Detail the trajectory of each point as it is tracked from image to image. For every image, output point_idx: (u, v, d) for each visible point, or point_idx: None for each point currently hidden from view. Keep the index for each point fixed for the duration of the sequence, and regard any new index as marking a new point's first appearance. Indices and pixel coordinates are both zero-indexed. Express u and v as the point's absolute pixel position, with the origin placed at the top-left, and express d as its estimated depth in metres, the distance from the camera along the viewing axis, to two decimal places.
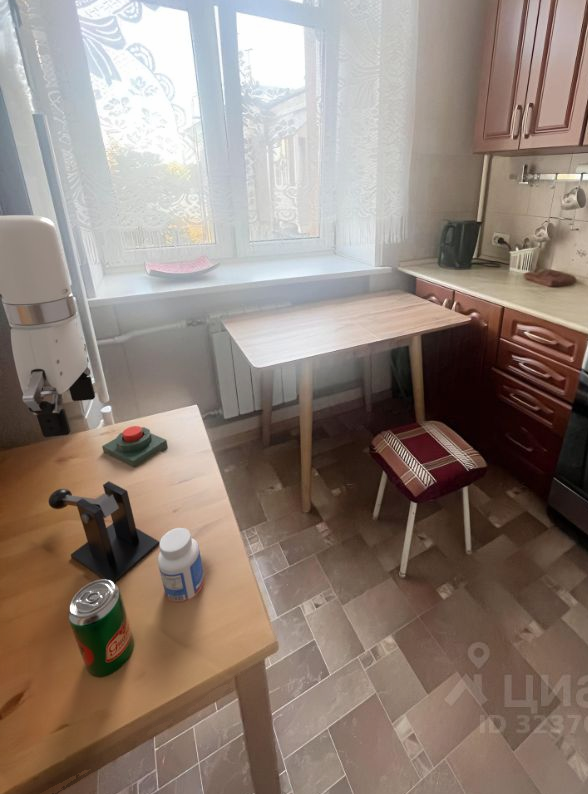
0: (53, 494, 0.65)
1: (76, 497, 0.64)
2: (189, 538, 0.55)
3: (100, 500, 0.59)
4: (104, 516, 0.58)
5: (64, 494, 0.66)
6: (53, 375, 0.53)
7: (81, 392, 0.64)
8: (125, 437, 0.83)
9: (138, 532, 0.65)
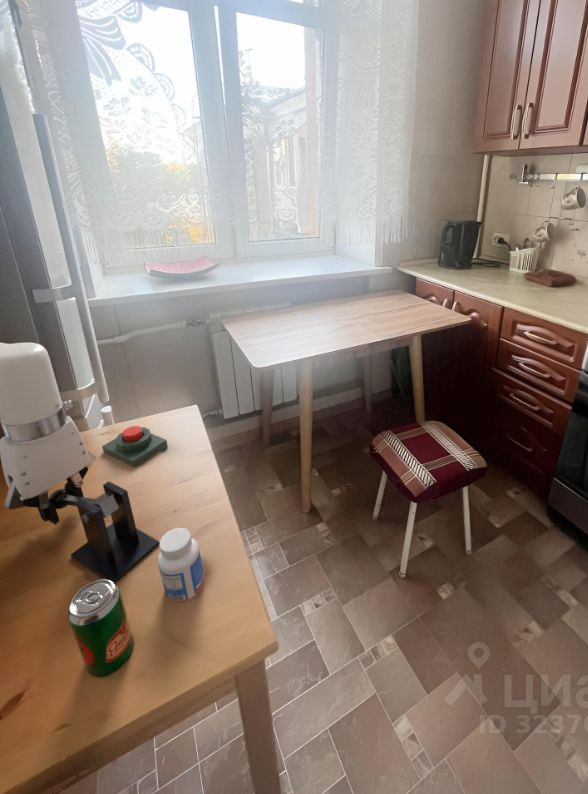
0: (53, 494, 0.65)
1: (76, 497, 0.64)
2: (189, 538, 0.55)
3: (100, 500, 0.59)
4: (104, 516, 0.58)
5: (64, 494, 0.66)
6: (18, 484, 0.59)
7: None
8: (125, 437, 0.83)
9: (138, 532, 0.65)
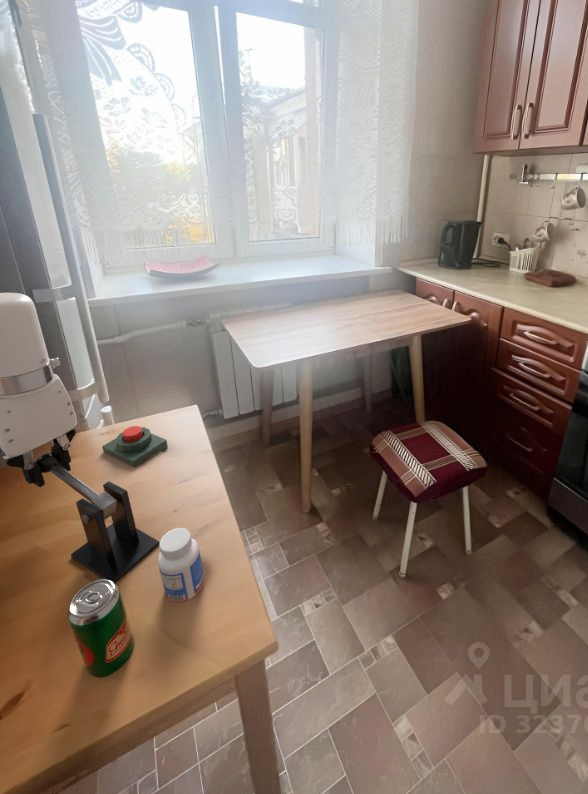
0: (42, 459, 0.62)
1: (68, 473, 0.62)
2: (189, 538, 0.55)
3: (103, 502, 0.58)
4: None
5: (53, 462, 0.63)
6: (1, 441, 0.56)
7: (59, 462, 0.65)
8: (125, 437, 0.83)
9: (138, 532, 0.65)
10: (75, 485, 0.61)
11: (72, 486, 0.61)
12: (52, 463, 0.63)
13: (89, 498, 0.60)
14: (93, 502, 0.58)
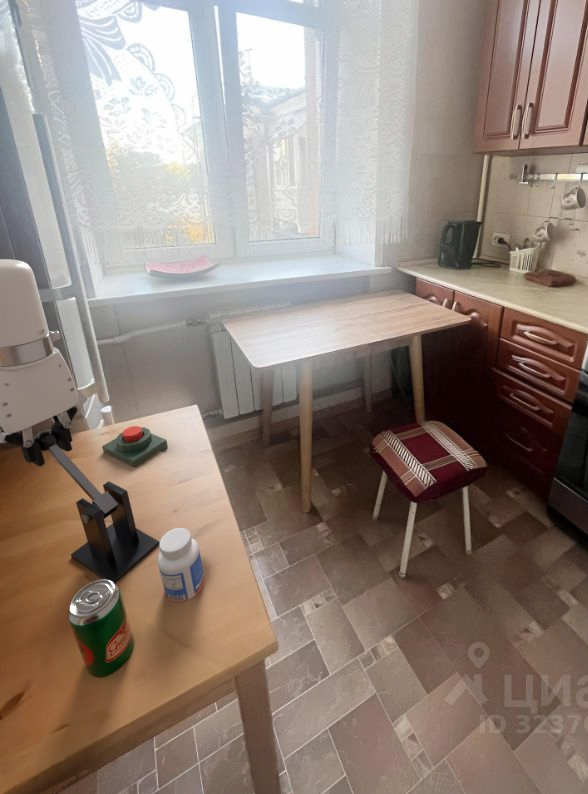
0: (43, 439, 0.60)
1: (69, 460, 0.60)
2: (189, 538, 0.55)
3: (105, 505, 0.58)
4: None
5: (54, 443, 0.61)
6: None
7: (59, 441, 0.63)
8: (125, 437, 0.83)
9: (138, 532, 0.65)
10: (76, 476, 0.59)
11: (72, 476, 0.60)
12: (52, 444, 0.61)
13: (90, 494, 0.59)
14: (95, 503, 0.58)
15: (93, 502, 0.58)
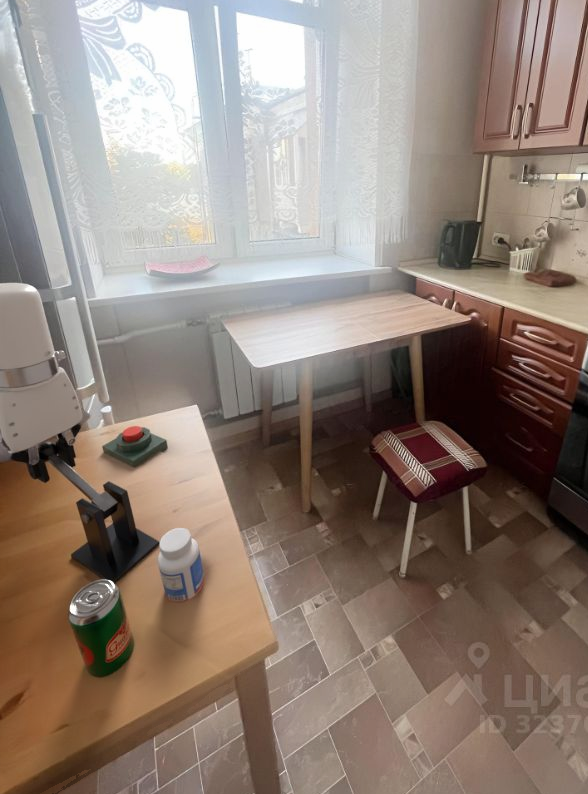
0: (41, 449, 0.61)
1: (68, 467, 0.61)
2: (189, 538, 0.55)
3: (104, 503, 0.58)
4: None
5: (53, 452, 0.62)
6: (6, 435, 0.55)
7: (63, 458, 0.64)
8: (125, 437, 0.83)
9: (138, 532, 0.65)
10: (75, 481, 0.60)
11: (72, 481, 0.60)
12: (51, 454, 0.62)
13: (89, 496, 0.59)
14: (94, 502, 0.58)
15: (92, 502, 0.58)
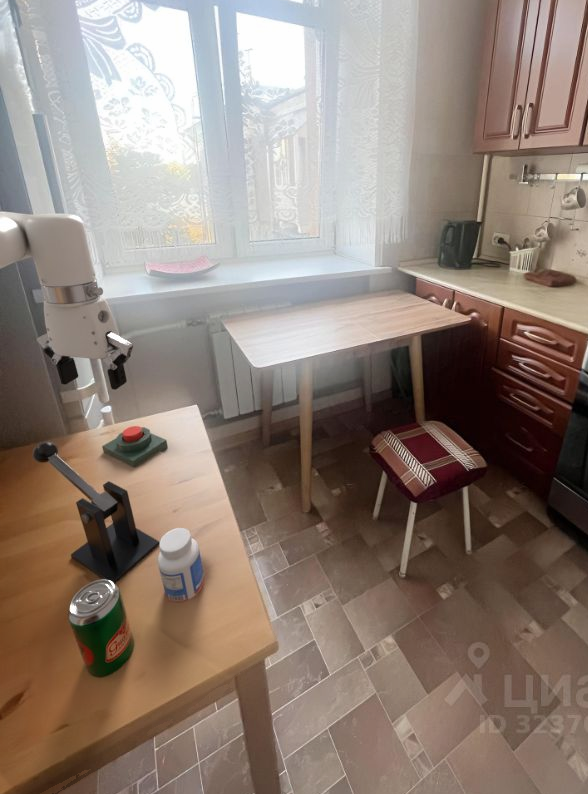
0: (41, 449, 0.61)
1: (68, 467, 0.61)
2: (189, 538, 0.55)
3: (104, 503, 0.58)
4: None
5: (53, 453, 0.62)
6: None
7: None
8: (125, 437, 0.83)
9: (138, 532, 0.65)
10: (75, 481, 0.60)
11: (72, 481, 0.60)
12: (51, 454, 0.62)
13: (89, 496, 0.59)
14: (94, 502, 0.58)
15: (92, 502, 0.58)
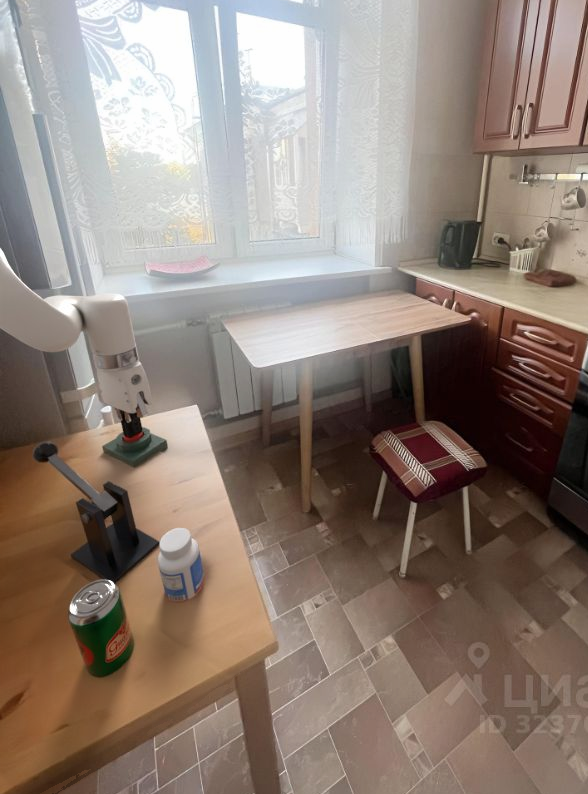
0: (41, 449, 0.61)
1: (68, 467, 0.61)
2: (189, 538, 0.55)
3: (104, 503, 0.58)
4: None
5: (53, 453, 0.62)
6: None
7: None
8: (126, 440, 0.83)
9: (138, 532, 0.65)
10: (75, 481, 0.60)
11: (72, 481, 0.60)
12: (51, 454, 0.62)
13: (89, 496, 0.59)
14: (94, 502, 0.58)
15: (92, 502, 0.58)
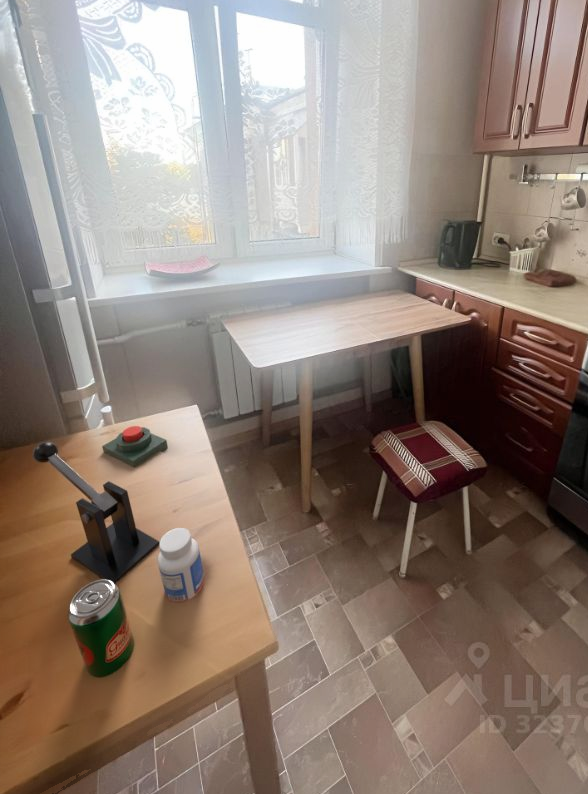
0: (41, 449, 0.61)
1: (68, 467, 0.61)
2: (189, 538, 0.55)
3: (104, 503, 0.58)
4: None
5: (53, 453, 0.62)
6: None
7: None
8: (125, 437, 0.83)
9: (138, 532, 0.65)
10: (75, 481, 0.60)
11: (72, 481, 0.60)
12: (51, 454, 0.62)
13: (89, 496, 0.59)
14: (94, 502, 0.58)
15: (92, 502, 0.58)
